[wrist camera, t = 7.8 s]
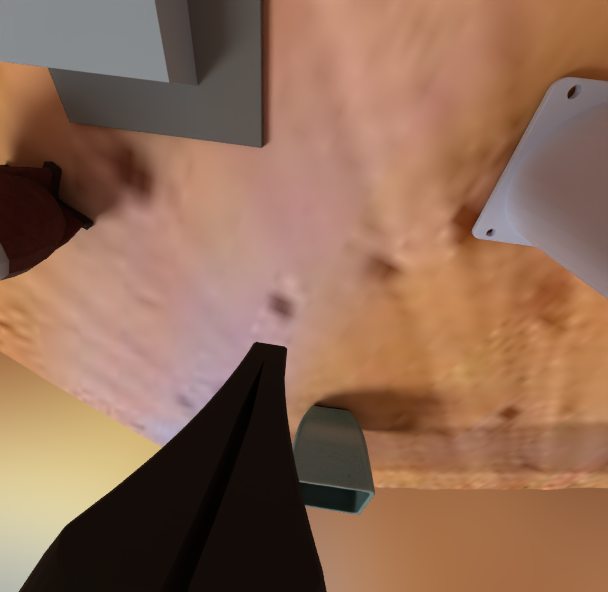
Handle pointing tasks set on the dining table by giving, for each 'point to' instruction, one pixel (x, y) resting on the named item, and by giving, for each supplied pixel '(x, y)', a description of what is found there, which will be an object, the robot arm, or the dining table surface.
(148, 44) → the slab
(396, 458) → the dining table surface
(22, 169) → the mate gourd
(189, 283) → the dining table surface
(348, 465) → the flower pot
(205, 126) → the mat
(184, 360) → the dining table surface
